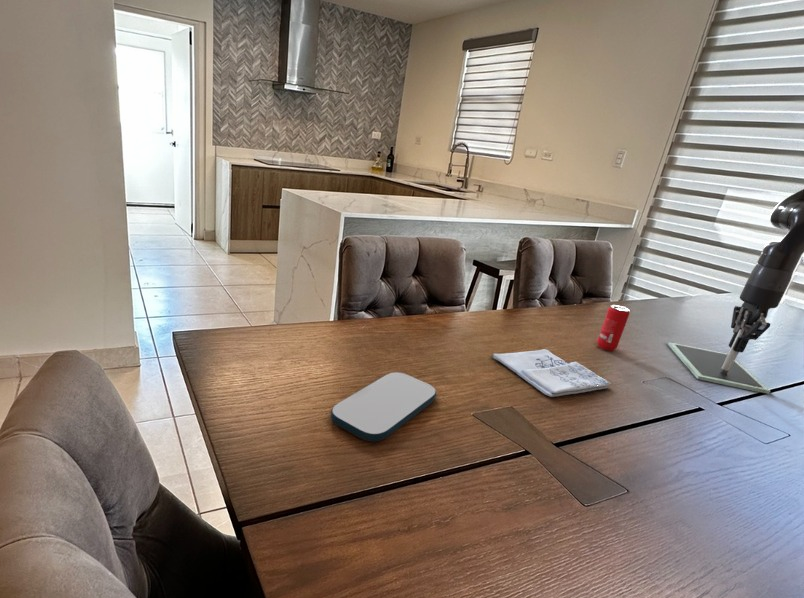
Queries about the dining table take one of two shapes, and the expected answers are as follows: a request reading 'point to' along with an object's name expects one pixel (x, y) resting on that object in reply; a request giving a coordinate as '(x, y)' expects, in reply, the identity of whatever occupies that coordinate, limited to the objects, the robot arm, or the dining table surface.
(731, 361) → the stylus
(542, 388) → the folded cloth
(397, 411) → the external hard drive
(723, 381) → the tablet
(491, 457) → the dining table surface
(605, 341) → the beverage can
